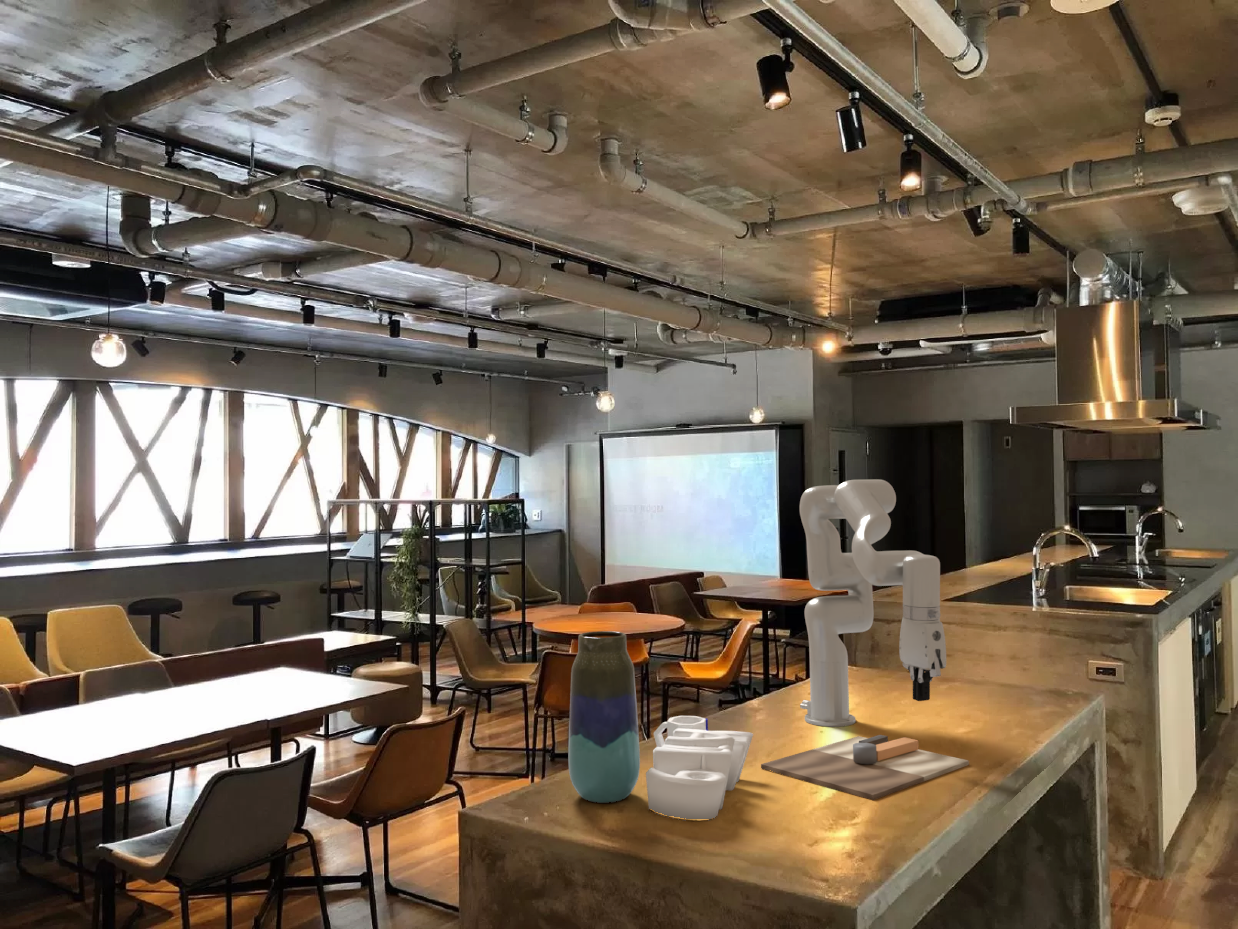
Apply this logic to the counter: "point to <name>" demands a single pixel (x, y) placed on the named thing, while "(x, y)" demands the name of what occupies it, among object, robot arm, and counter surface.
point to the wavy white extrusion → (695, 772)
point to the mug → (678, 726)
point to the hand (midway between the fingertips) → (921, 699)
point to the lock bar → (882, 750)
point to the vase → (603, 719)
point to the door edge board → (864, 768)
